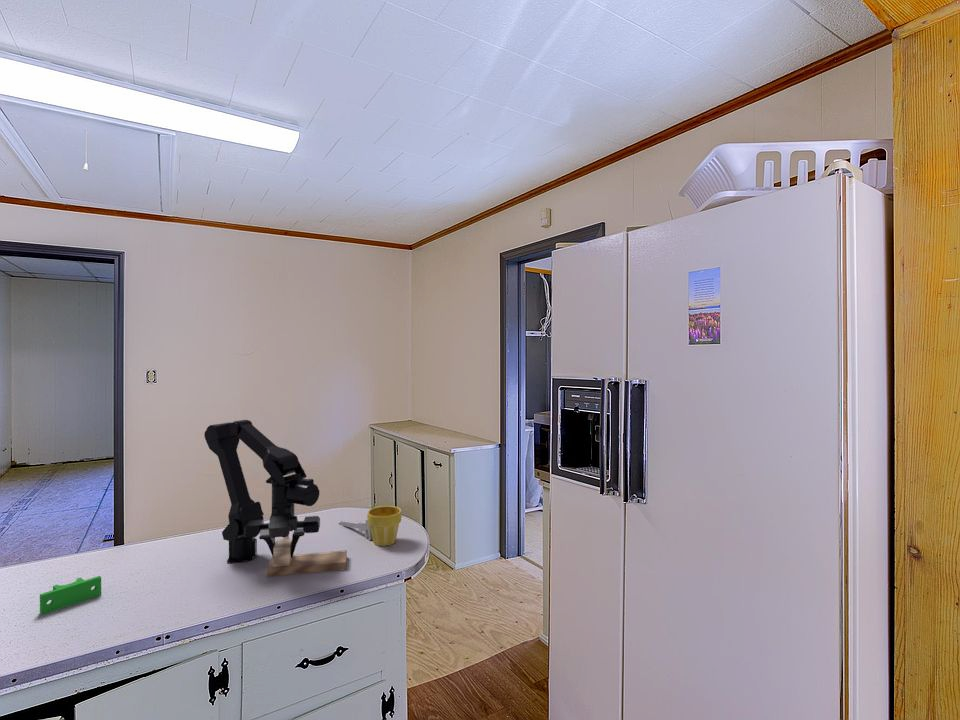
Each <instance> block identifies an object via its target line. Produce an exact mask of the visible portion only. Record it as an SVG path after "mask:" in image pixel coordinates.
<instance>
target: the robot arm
mask: <svg viewBox="0 0 960 720" xmlns="http://www.w3.org/2000/svg"><path fill="white" fill-rule="evenodd" d="M204 439H205V442H206V444H207V447H208V449H209V450H210V451H211V452H213V454H215V456H217V459H218V461H219V464H220V465H219V466H220V468H221V472H222V476H223V479H224V483H225V486H226V491H227V494H228V496H229V497H228V498H229V500H230V504H231V505H230V508H229V512H228V517H227V518H228V524H227V525H226V527H225V528H224V529H223V531H221V535H222V540H224V541H228V558H227V560H226V563H239V562H240V563H241V562H251V561H253V560H254V557H255V556H256V555H257V552H258V539H259V540H263V541H264V542H265V543H266V544H267V546H268V548H269V551H270V553H271V557H272V556H273V548H274V546H275V543H276V538H284V537H287V536H290V532H293V533H292V537H291V538H292V546H291V558H292V557H293V555H295V553H294V552H295V550H296V547H297V544H298V541H299V539H300V537H304V536H305V534H313V533H314V534H315V533H319V532H320V528H321V527H320V526H321V518H320V516H319V515H313V516H305V517H304V519H303V520H300V521H299V520H298V516H297V515H295V504H296V505H300V506H306V507H312V506H314V505H315V504H316V503H317V501H319V500H318V499H319V498H320V497H319V496H320V489H319V487H318V485H317V484H315V483H314V481H315V480H314V479H313V478H307V474H306V473H305V469H304V468H303V467H302V464H301V462H300V460H299V457H298V456H297V455H296V454H295V452H292V451H290V450H289V449H287V448H284V447H279V446H278V445H276V444H274V442H272V441H271V440H270V439H269V438H268V437H266V435H264V434H263V433H262V432H261V431H260V430H259V429H257V427H255V425H254V424H253V423H252V421H251V420H248V419H241V420H240V419H239V420H234V421H232V422H222V423H217V424H210V425H209V426H207V428H206V430H205V431H204ZM240 440H241V441H242V442H243V444H245V445H246V447H248V448H249V450H251V451H252V452H254V454H256V456H258V457H259V458H260V459H261V460H262V466H263V468H264V470H265V471H266V472H267V474H269V476H270V477H269V478H267V479H266V480H265V483H266V484H269V485H271V514H270V517H269V523H268V522H267V523H264V521H265V519H264V515H265V513H264V512H263V509H262V503H261V502H260V501H255V500H253V499H252V498H251V495H250V492H249V489H248V486H247V482H246V478H245V476H244V472H243V468H242V465H241V461H240V458H239V455H238V454H239V453H238V446H239V444H240ZM258 536H259V537H258ZM256 537H258V538H256Z"/></svg>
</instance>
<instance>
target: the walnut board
mask: <svg viewBox="0 0 960 720" xmlns="http://www.w3.org/2000/svg"><path fill="white" fill-rule="evenodd" d="M347 555H348V551H347V550H345V549H344V550H336V551H322V552H311V553H299V554H293V557H292V559H291V562H290V565H289V566H278V567H273V556H272V555H271V559H270V560H269V563H268V565H267V567H266V577H267V578H268V577H277V576H288V575H289V576H291V575H300V574H311V573H322V572H333V571H343V570H347V558H348V556H347Z"/></svg>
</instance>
